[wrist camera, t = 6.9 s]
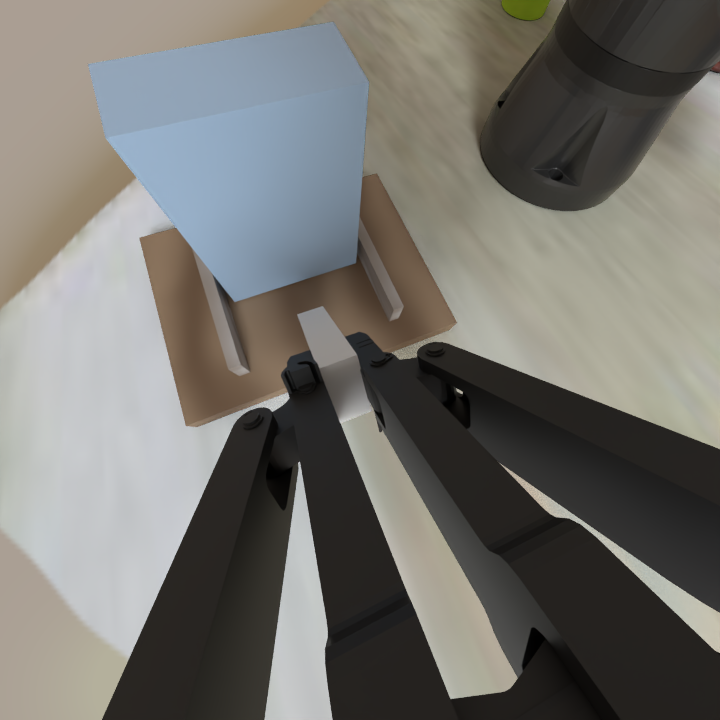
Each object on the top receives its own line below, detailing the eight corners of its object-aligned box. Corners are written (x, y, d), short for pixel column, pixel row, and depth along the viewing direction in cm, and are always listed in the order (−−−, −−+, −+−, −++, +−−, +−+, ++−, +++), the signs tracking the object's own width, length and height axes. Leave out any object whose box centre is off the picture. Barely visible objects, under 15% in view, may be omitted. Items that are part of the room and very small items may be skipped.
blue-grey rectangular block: (338, 224, 24) (333, 21, 12) (356, 263, 23) (369, 81, 11) (220, 259, 22) (87, 63, 11) (234, 302, 21) (105, 137, 10)
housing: (375, 187, 27) (381, 139, 23) (449, 329, 23) (473, 304, 19) (151, 250, 24) (109, 208, 20) (197, 426, 20) (157, 423, 16)
